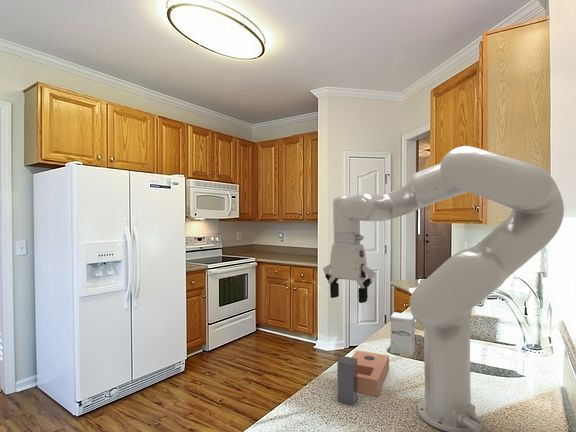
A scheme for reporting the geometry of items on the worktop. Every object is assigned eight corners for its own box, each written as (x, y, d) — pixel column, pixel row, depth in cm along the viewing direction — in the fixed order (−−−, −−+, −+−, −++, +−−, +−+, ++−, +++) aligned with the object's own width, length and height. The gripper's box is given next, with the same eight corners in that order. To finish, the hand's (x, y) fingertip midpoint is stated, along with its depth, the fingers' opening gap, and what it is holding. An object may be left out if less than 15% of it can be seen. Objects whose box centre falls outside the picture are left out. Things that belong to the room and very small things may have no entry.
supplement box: (390, 353, 113) (389, 316, 113) (393, 346, 119) (393, 311, 120) (412, 357, 109) (412, 319, 110) (415, 349, 116) (415, 313, 116)
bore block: (356, 362, 105) (356, 350, 105) (389, 368, 100) (388, 355, 100) (340, 387, 89) (340, 372, 89) (377, 396, 84) (377, 380, 84)
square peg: (342, 394, 85) (342, 355, 85) (357, 398, 83) (357, 358, 84) (337, 402, 82) (337, 361, 82) (353, 405, 80) (353, 364, 80)
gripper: (380, 239, 90) (382, 301, 89) (331, 238, 103) (332, 293, 102) (365, 240, 85) (367, 306, 84) (315, 239, 97) (316, 297, 97)
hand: (348, 299), depth 93 cm, fingers open, 9 cm apart
